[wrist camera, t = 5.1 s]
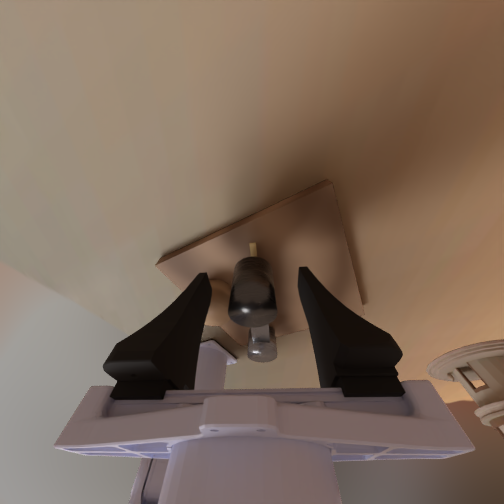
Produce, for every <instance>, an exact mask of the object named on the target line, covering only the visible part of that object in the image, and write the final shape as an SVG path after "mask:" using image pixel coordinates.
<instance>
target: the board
mask: <svg viewBox="0 0 504 504" xmlns="http://www.w3.org/2000/svg"><path fill="white" fill-rule="evenodd" d="M251 256H255V257H260V258H263V259H265V260H266V261H268V262H269V263H270V265H271V266H272V270H273V279H274V287H275V296H276V304H277V317H276V318H275V320H274V321H273V322H271V323H270V324H269V326H271V327H272V328H274V330H275V336H276V337H279V336H283V335H286V334H290V333H294V332H298V331H302V330H306V329H309V326H308V322H307V319H306V316H305V313H304V310H303V307H302V304H301V301H300V297H299V292H298V286H297V284H298V272H299V267H306V266H307V267H308V268H309V269H310V270H311V272H312V273H313V274H314V275H315V277H316V278H317V279H318V280H319V281H320V282H321V283H322V285H323V286H324V287H325V288H326V289H327V290H328V291H329V292H330V293H331V294H332V295H333V296H334V297H336V298H337V299H338V300H339V301H340V302H341V303H342V304H344V305H345V306H346V307H347V308H349V309H350V310H352V311H353V312H354V313H356V314H357V315H359V316H362V315H365V314H364V310H363V306H362V302H361V297H360V293H359V289H358V285H357V281H356V277H355V273H354V269H353V265H352V261H351V257H350V253H349V249H348V245H347V240H346V236H345V232H344V228H343V224H342V220H341V216H340V212H339V208H338V204H337V200H336V196H335V192H334V187H333V183H331V182H330V181H329V180H325V181H323V182H321V183H318V184H316V185H314V186H312V187H310V188H308V189H306V190H304V191H302V192H299V193H297V194H295V195H293V196H291V197H289V198H287V199H285V200H283V201H280V202H278V203H276V204H274V205H272V206H270V207H268V208H266V209H264V210H261V211H259V212H257V213H255V214H253V215H251V216H249V217H247V218H245V219H242V220H240V221H238V222H236V223H234V224H232V225H230V226H228V227H226V228H223V229H221V230H219V231H217V232H215V233H213V234H211V235H209V236H207V237H204V238H202V239H200V240H198V241H196V242H194V243H192V244H190V245H188V246H185V247H183V248H181V249H179V250H177V251H175V252H173V253H171V254H169V255H166V256H164V257H162V258H160V259H159V261H158V262H157V264H156V265H155V266H156V267H157V268H158V269H159V270H160V271H161V272H162V273H163V274H164V275H165V276H166V277H168V278H169V279H170V280H171V281H172V282H173V283H174V284H175V285H176V286H177V287H178V288H179V289H180V290H181V291H184V290H185V289H186V288H187V287H188V286H189V284H190V283H191V282H192V281H193V280H194V278H195V277H196V276H197V275H198V274H199V273H204V272H207V275H208V278H209V280H221V281H224V282H226V283H227V284H229V285H230V286H232V279H233V272H234V267H235V265H236V264H237V262H238V261H240V260H241V259H243V258H246V257H251ZM219 326H220V327H221V328H222V329H223V330H224V331H225V332H226V333H227V334H228V335H229V336H231V337H232V338H233V339H234V340H235V341H236V342H237V343H238V344H239V345H240V346H243V345H247V344H248V331H249V329H250V328H251V327H244V326H241V325H238V324H236V323H235V322H233V321H232V320H231V319H230V320H229V321H228V322H227V323H225V324H223V325H219Z"/></svg>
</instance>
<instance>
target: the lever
mask: <svg viewBox="0 0 504 504" xmlns="http://www.w3.org/2000/svg"><path fill="white" fill-rule="evenodd" d="M228 315H229V317H230V319H231V320H232V321H233V322H235V323H236V324H238V325H241V326H244V327H251V328H250V329H249V331H248V358H249V359H251V360H253V361H256V362H269V361H272V360H274V359H276V358H277V346H276V336H275V330H274V328H272V327H271V326H269V324H270V323H271V322H273V321H274V320H275V318H276V317H277V304H276V296H275V287H274V279H273V270H272V266H271V265H270V263H269V262H268V261H266V260H265V259H263V258H260V257H255V256H251V257H246V258H243V259H241V260H240V261H238V262H237V264H236V265H235V267H234V272H233V279H232V286H231V293H230V300H229V306H228Z"/></svg>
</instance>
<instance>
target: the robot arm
mask: <svg viewBox="0 0 504 504" xmlns="http://www.w3.org/2000/svg"><path fill="white" fill-rule="evenodd" d="M297 286H298V292H299V297H300V301H301V304H302V307H303V310H304V313H305V316H306V319H307V322H308V326H309V329H310V334H311V339H312V343H313V348H314V353H315V358H316V364H317V369H318V375H319V381H320V386H321V388H289V389H224V382H225V374H226V365H229V364H234V363H236V362H237V359H235V358H234V357H233V356H232V355H231V354H230V353H228V352H227V351H226V350H225V349H224V348H222V347H221V346H220V345H219V344H218V343H216V342H215V341H214V340H210V341H206V342H202V343H201V337H202V332H203V328H204V324H205V321H206V317H207V314H208V310H209V307H210V303H211V297H212V287H211V284H210V281H209V278H208V275H207V272H204V273H199V274H198V275H197V276H196V277H195V278H194V280H193V281H192V282H191V283H190V284H189V286H188V287H187V288H186V289H185V290H184V291H183V292H182V294H181V295H180V296H179V297H178V298H177V299H176V300H175V301H174V302H173V303H172V304H171V305H170V306H169V307H168V308H166V309H165V310H164V311H163V312H162V313H161V314H160V315H158V316H157V317H156V318H154V319H153V320H152V321H151V322H149V323H148V324H147V325H145V326H144V327H142V328H141V329H139V330H138V331H136V332H135V333H133V334H132V335H130V336H129V337H127V338H125V339H124V340H122V341H121V342H119V343H117V344H116V345H115V347H114V349H113V350H112V352H111V353H110V355H109V356H108V358H107V360H106V361H105V363H104V364H103V369H104V371H105V372H106V373H107V374H109V375H110V376H111V377H113V378H114V379H115V380H117V383H116V385H115V387H113V386H91V387H90V388H89V390H88V392H87V393H86V395H85V396H84V398H83V400H82V401H81V403H80V404H79V406H78V407H77V409H76V411H75V412H74V414H73V416H72V417H71V419H70V420H69V422H68V423H67V425H66V427H65V428H64V430H63V431H62V433H61V435H60V436H59V438H58V439H57V441H56V443H55V444H54V448H57V449H61V450H65V451H69V452H74V453H77V454H82V455H86V456H122V457H140V458H142V459H141V462H140V465H139V468H138V472H137V475H136V478H135V481H134V484H133V488H132V491H131V495H130V501H129V504H342V500H341V496H340V492H339V487H338V483H337V479H336V474H335V471H334V466H333V461H358V460H384V459H386V460H387V459H445V458H448V457H452V456H456V455H460V454H463V453H467V452H471V451H474V450H475V447H474V445H473V444H472V443H471V441H470V440H469V438H468V437H467V436H466V434H465V432H464V431H463V429H462V428H461V426H460V425H459V423H458V422H457V420H456V419H455V418H454V416H453V415H452V413H451V412H450V410H449V409H448V407H447V406H446V404H445V403H444V401H443V400H442V398H441V397H440V395H439V394H438V392H437V391H436V390H435V388H434V387H433V385H432V384H431V382H430V381H428V380H407V381H402V382H400V381H399V379H398V378H397V376H398V372H397V370H396V369H395V365H396V364H397V363H398V362H399V361H400V359H401V358H402V355H403V353H402V351H401V349H400V348H399V346H398V344H397V343H396V342H395V340H394V339H393V338H392V336H391V335H390V334H389V333H387V332H385V331H383V330H382V329H380V328H378V327H376V326H374V325H373V324H371V323H369V322H368V321H366V320H365V319H363V318H362V317H360V316H359V315H357V314H356V313H354V312H353V311H352V310H350V309H349V308H347V307H346V306H345V305H344V304H342V303H341V302H340V301H339V300H338V299H337V298H336V297H334V296H333V295H332V294H331V293H330V292H329V291H328V290H327V289H326V288H325V287H324V286H323V285H322V283H321V282H320V281H319V280H318V279H317V278H316V277H315V275H314V274H313V273H312V272H311V270H310V269H309V268H308V267H307V266H306V267H299V272H298V284H297ZM143 490H144V491H143Z"/></svg>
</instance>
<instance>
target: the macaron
mask: <svg viewBox="0 0 504 504" xmlns="http://www.w3.org/2000/svg"><path fill="white" fill-rule="evenodd" d="M209 281H210V284H211V287H212V297H211V303H210V307H209V310H208V314H207V317H206V321H205V324H204V325H208V326H219V325H223V324H225V323H227V322H228V321H229V320H230V317H229V315H228V306H229V300H230V293H231V286H230V285H229V284H227V283H226V282H224V281H221V280H209Z"/></svg>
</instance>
